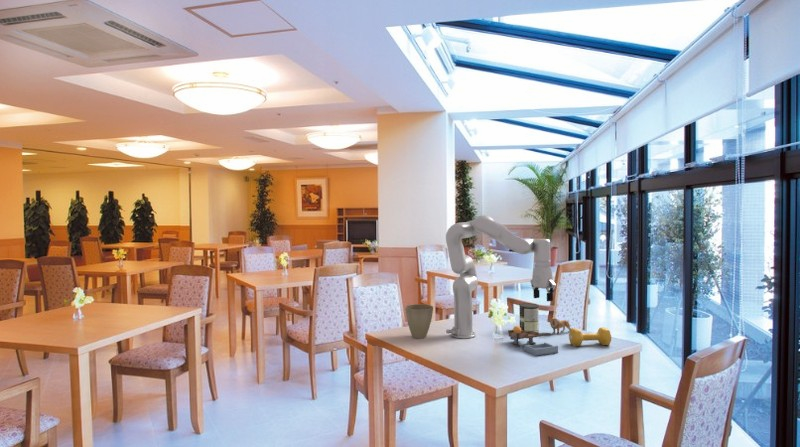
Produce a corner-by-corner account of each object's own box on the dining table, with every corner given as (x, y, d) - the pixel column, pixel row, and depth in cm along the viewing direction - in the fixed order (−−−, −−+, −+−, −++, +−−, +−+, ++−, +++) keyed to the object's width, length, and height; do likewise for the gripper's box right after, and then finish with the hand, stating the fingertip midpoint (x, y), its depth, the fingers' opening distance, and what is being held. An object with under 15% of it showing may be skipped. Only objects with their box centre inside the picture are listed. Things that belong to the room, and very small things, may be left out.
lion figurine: (555, 336, 250) (555, 319, 250) (547, 334, 254) (547, 317, 254) (573, 332, 257) (573, 315, 257) (565, 330, 262) (565, 313, 262)
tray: (524, 350, 225) (524, 343, 225) (544, 347, 229) (544, 340, 229) (537, 356, 216) (537, 349, 216) (558, 352, 220) (558, 346, 220)
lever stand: (511, 345, 234) (511, 333, 234) (530, 342, 239) (530, 331, 239) (516, 347, 230) (516, 335, 230) (535, 344, 235) (535, 333, 235)
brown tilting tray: (509, 339, 240) (508, 330, 240) (531, 336, 245) (530, 327, 246) (527, 341, 226) (526, 331, 227) (551, 338, 231) (550, 328, 232)
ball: (516, 335, 236) (516, 326, 237) (511, 333, 240) (511, 325, 240) (523, 334, 238) (522, 326, 238) (518, 332, 242) (517, 324, 242)
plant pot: (412, 342, 241) (412, 310, 241) (400, 335, 255) (400, 305, 255) (438, 338, 247) (438, 308, 247) (425, 332, 261) (425, 303, 261)
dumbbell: (604, 342, 238) (604, 325, 238) (613, 347, 229) (613, 330, 229) (567, 343, 237) (567, 326, 237) (574, 348, 228) (574, 331, 228)
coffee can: (515, 330, 262) (515, 305, 262) (525, 327, 269) (525, 302, 269) (532, 333, 255) (532, 307, 254) (542, 330, 262) (542, 304, 261)
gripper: (524, 263, 238) (525, 297, 238) (548, 266, 222) (549, 303, 222) (537, 262, 240) (537, 296, 241) (561, 265, 225) (561, 301, 225)
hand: (543, 299), depth 231 cm, fingers open, 9 cm apart
